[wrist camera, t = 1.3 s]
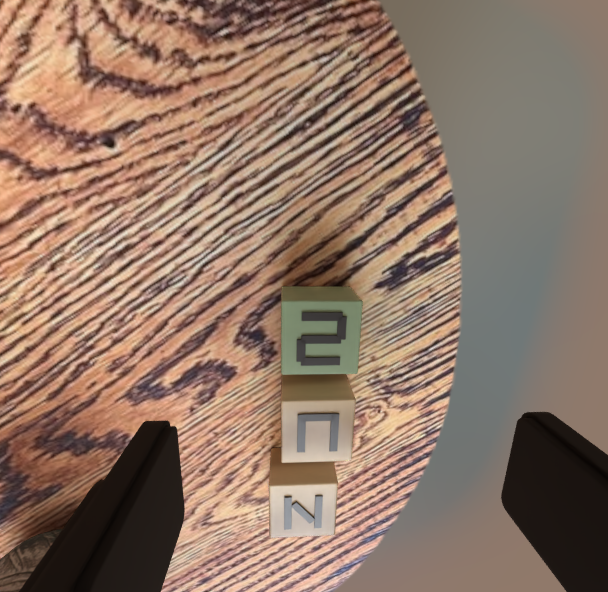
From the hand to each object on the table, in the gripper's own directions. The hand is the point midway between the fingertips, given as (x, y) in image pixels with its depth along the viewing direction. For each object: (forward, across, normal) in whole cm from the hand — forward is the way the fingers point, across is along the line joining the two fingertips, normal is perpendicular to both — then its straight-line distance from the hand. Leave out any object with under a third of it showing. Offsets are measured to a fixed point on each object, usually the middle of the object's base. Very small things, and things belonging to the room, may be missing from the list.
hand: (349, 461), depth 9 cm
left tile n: (+11, +1, +10) cm, 15 cm away
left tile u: (+11, 0, +5) cm, 12 cm away
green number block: (+11, 0, 0) cm, 11 cm away
